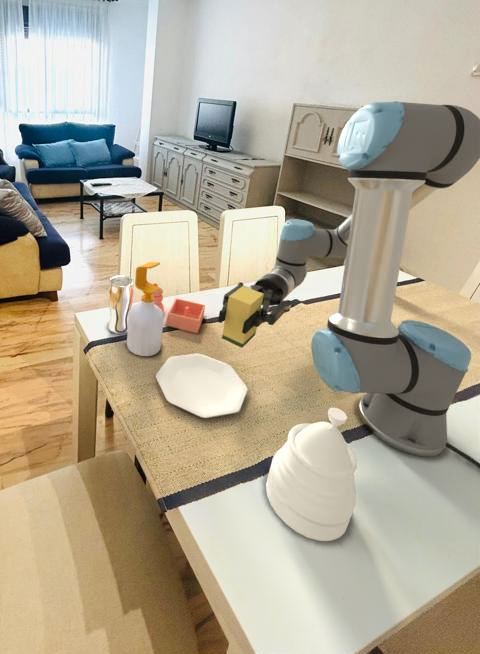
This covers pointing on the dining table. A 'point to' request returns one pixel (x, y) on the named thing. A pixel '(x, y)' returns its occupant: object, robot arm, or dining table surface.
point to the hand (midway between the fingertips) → (232, 322)
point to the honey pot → (314, 479)
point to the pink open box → (181, 313)
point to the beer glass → (120, 303)
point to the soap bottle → (145, 317)
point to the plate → (201, 385)
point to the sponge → (241, 315)
